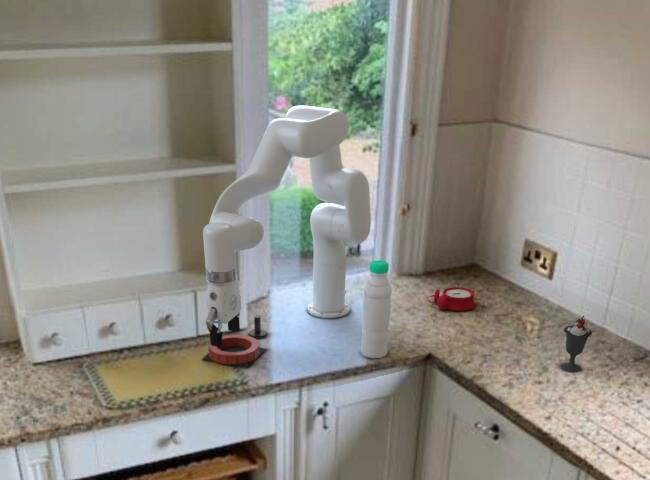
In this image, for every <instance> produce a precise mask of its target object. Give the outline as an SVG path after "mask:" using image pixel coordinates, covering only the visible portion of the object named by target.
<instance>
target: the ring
mask: <svg viewBox="0 0 650 480" xmlns="http://www.w3.org/2000/svg"><path fill="white" fill-rule="evenodd" d="M222 340H223V346H222V347H217V346H212V345H211V341H209V342H208V354H209V357H210V358H211V359H212V360H214V361H216V362H215V363H217V362H219V363H218V364H222V365H228V364H243V363H248V362H250V361H253V360H254V359H256V358H257V357H258V356H259V352H260V349H259V348H260V342H259V341H258V339H257V338H253V337H250V336H249V335H245V334H226V335H222ZM231 346H240V347H245V348H248V349H247V350H245V351H241V352H225V351H221V350H220V349H222V348H225V347H231ZM258 358H259V357H258ZM258 358H257V359H258ZM257 359H256V360H257Z"/></svg>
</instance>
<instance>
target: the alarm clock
mask: <svg viewBox="0 0 650 480" xmlns="http://www.w3.org/2000/svg"><path fill="white" fill-rule="evenodd" d="M440 292H441V290H440V288H437V289H435V291H434V294H432V295H430V296H427V297H426V300H427V301H428V303H432V304H436V306H437V308H438V309H439V310H440V311H445V310H450V311H457V312H458V311H459V312H460V311H470V310H472V309H474V308H475V306H477V305H476V304H477V303H475V300H477V301H482V299H481V298H476V297H475V290H472V289H470V288H467V287H459V286H452V287H447V288H445V289H444V290H443V292H442V295H440ZM432 297H433V301H432V300H429V298H432Z"/></svg>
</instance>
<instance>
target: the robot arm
mask: <svg viewBox="0 0 650 480" xmlns="http://www.w3.org/2000/svg"><path fill="white" fill-rule="evenodd" d="M349 130H350V121H349V118H348V116H347V115H346V113H344V111H342V110H339V109H336V108H335V109H334V108H327V107H319V106H311V105H295V106H292V107H291V108H289V109H288V110H287V112H286V115H285V117H284V118H283V117H281V118H275V119H273V120H272V121H270V123H269V124H268V125H267V128H266V129H265V131H264V134H263V136H262V139H261V140H260V143H259V145H258V148H257V150H256V151H255V154H254V156H253V159H252V161H251V163H250V165H249V167H248V169H247V171H246V172H245V173H243V174H242V175H241V176H239V177H238V178H236V179H235V180H234V181H233V182H232V183H230V184H229V186H227V187H226V188H225V189H224V190H223V192H221V194H220V196H219V197H218V198H217V201H216V203H215V206H214V208H213V210H212V212H211V215H210V217H209V222H208V223H207V224H206V225H205V226H204V227H203V230H202V239H203V250H204V265H205V278H206V280H205V281H206V283H207V291H206V293H207V294H206V296H207V297H206V301H207V306H206V307H207V317H206V319H205V321H204V322H205V325H206V328H207V330H208V332H209V339H210V340H209V342H211V345H212V346H217V347H222V346H223V340H222V336H223V332H222V326H223V324H224V325H226V324H227V330H228V331H230V332H235V333H239V332H240V331H241V326H240V325H241V324H240V315H241V311H242V300H241V299H242V297H241V290H240V285H239V280H238V273H237V272H238V271H237V256H236V255H237V254H236V253H237V252H239V251H240V252H241V251H245V250H246V251H247V250H250V249H253V248H256V247H257V246H259V244H260V243H261V242H262V241H263V238H264V234H265V230H264V229H265V228H264V227H263V224H262V223H261V222H260V221H259V220H258V219H256V218H253V217H250V216H245V215H242V214H237V212H238V211H239V209H240V208H241V207H242V206H243V205H244V204H245V203H246V202H247V201H249V200H251V199H253V198H255V197H258V196H261V195H262V196H263V195H264V194H267V193H270V192H272V191H273V192H274V191H275V190H276V189H278V188H279V187H280V185H281V182H282V180H283V178H284V176H285V174H286V171H287V169H288V167H289V164H290V162H291V160H292V158H294V157H297V158H302V159H308V160H309V167H310V168H309V169H310V177H311V186H312V191H313V192H312V193H313V195H314V197H315V198H316V199H317V200H319V201H322V203H319V204H317V205H316V206H315V207H313V209H312V211H311V214H310V216H309V217H310V219H309V221H310V223H309V224H310V230H311V235H312V245H313V255H312V256H313V260H312V302H310V303H309V304H308V305H307V313H309V314H310V315H311V316H314V317H317V318H322V319H337V318H341V317H344V316H347V315H348V314H349V313H350V311H351V310H350V308H351V307H350V305H349V304H348V303H346V294H347V290H346V278H347V276H346V273H347V249H346V246H345V243H348V244H353V245H359V244H362V243H364V242H365V241H366V240H367V239H368V237H369V235H370V233H371V226H372V216H371V215H372V214H371V195H370V193H371V192H370V183H369V180H368V177H367V176H366V175H365V173H364V172H363V171H361V170H360V169H356V168H350V167H345V166H344V164H343V162H342V154H341V148H340V145H341V144H342V143H343V142H344V141H345V140H346V139H347V137H348V133H349ZM215 324H217V325H215Z"/></svg>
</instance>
